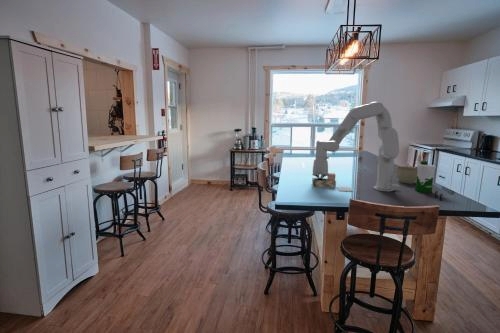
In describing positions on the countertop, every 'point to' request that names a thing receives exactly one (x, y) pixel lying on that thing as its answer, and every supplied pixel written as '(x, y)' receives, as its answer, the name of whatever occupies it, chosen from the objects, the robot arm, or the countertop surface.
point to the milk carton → (425, 177)
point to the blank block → (331, 177)
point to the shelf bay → (323, 183)
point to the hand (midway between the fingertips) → (319, 183)
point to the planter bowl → (407, 174)
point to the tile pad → (344, 189)
